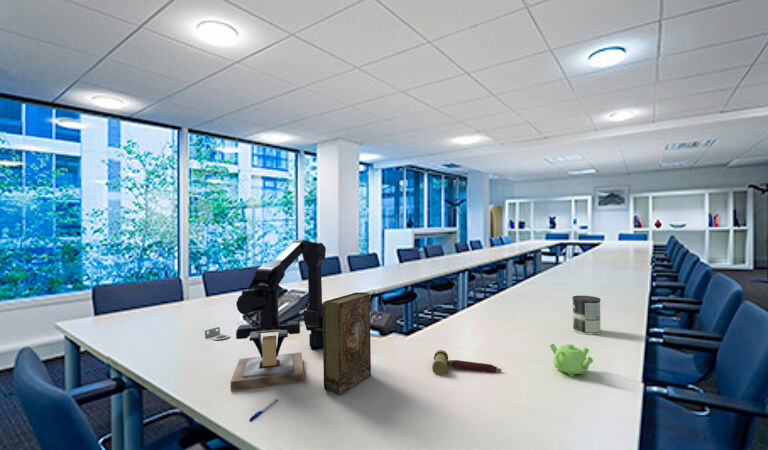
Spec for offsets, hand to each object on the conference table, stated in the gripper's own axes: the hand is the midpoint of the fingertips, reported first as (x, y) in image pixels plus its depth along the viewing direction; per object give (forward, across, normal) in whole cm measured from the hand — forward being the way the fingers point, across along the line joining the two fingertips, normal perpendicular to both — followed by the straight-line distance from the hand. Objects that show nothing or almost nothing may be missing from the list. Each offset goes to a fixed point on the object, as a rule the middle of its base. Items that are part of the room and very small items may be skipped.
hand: (269, 356), depth 111 cm
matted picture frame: (+5, 0, 0) cm, 5 cm away
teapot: (+6, -90, +26) cm, 94 cm away
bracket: (+6, +23, -46) cm, 52 cm away
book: (+5, -23, +14) cm, 27 cm away
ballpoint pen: (+6, 0, +23) cm, 24 cm away
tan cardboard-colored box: (+2, 0, 0) cm, 2 cm away
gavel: (+6, -60, +15) cm, 62 cm away
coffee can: (+6, -127, -6) cm, 127 cm away
